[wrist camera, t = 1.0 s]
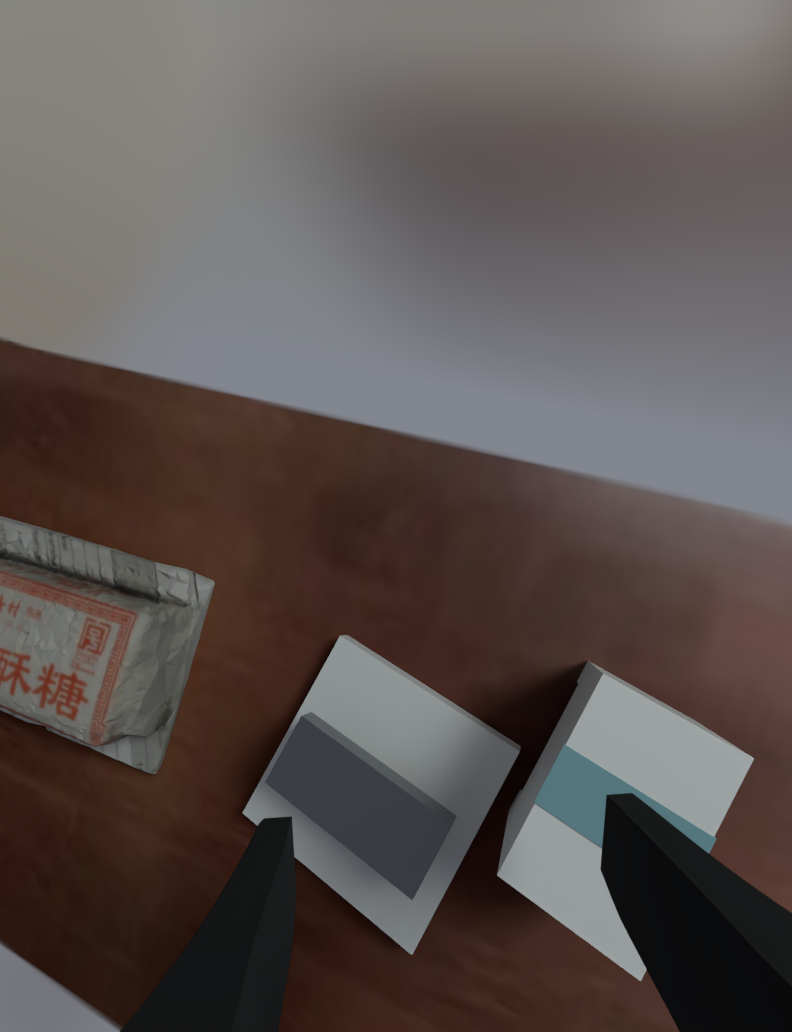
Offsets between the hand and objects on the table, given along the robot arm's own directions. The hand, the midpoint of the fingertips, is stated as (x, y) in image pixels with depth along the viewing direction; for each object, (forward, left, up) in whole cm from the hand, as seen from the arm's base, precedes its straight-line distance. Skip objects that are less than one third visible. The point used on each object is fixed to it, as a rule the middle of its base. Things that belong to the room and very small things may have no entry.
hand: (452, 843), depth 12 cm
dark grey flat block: (+3, +4, -9) cm, 10 cm away
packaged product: (+23, +8, -12) cm, 27 cm away
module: (-4, -1, -11) cm, 12 cm away
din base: (+3, +4, -11) cm, 13 cm away
